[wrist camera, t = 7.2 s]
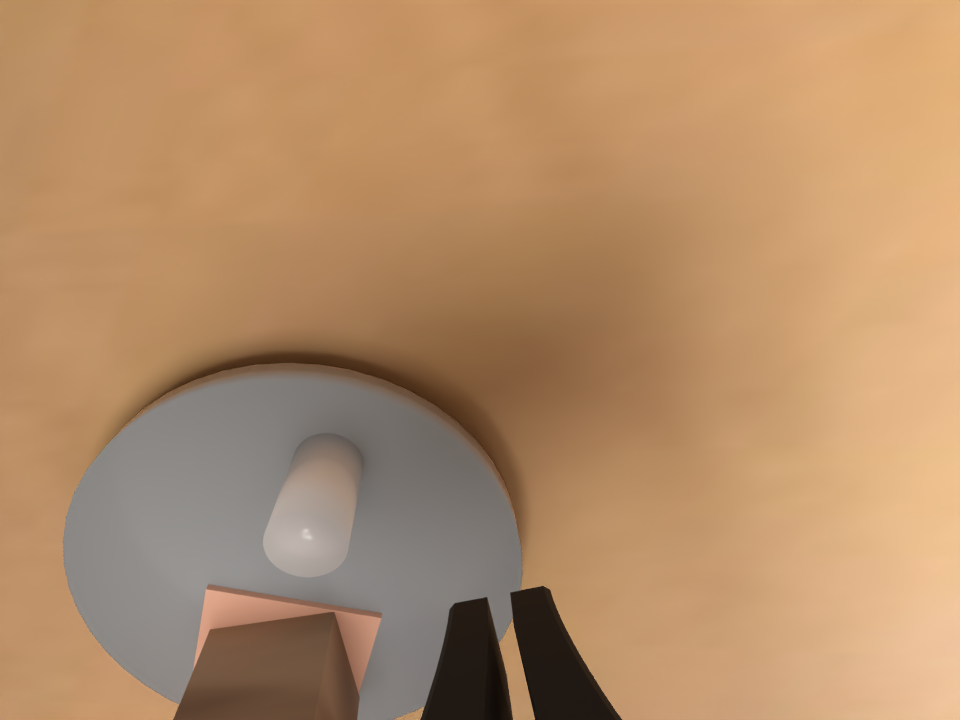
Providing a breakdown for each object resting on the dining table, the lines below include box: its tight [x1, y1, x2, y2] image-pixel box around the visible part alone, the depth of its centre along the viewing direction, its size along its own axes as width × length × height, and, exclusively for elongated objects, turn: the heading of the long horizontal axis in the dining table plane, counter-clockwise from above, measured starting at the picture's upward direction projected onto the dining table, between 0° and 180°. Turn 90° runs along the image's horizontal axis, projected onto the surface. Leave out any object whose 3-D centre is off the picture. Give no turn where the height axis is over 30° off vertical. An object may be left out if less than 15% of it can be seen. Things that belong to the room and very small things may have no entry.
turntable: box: [63, 363, 522, 720], centre depth 19 cm, size 14×14×5 cm
